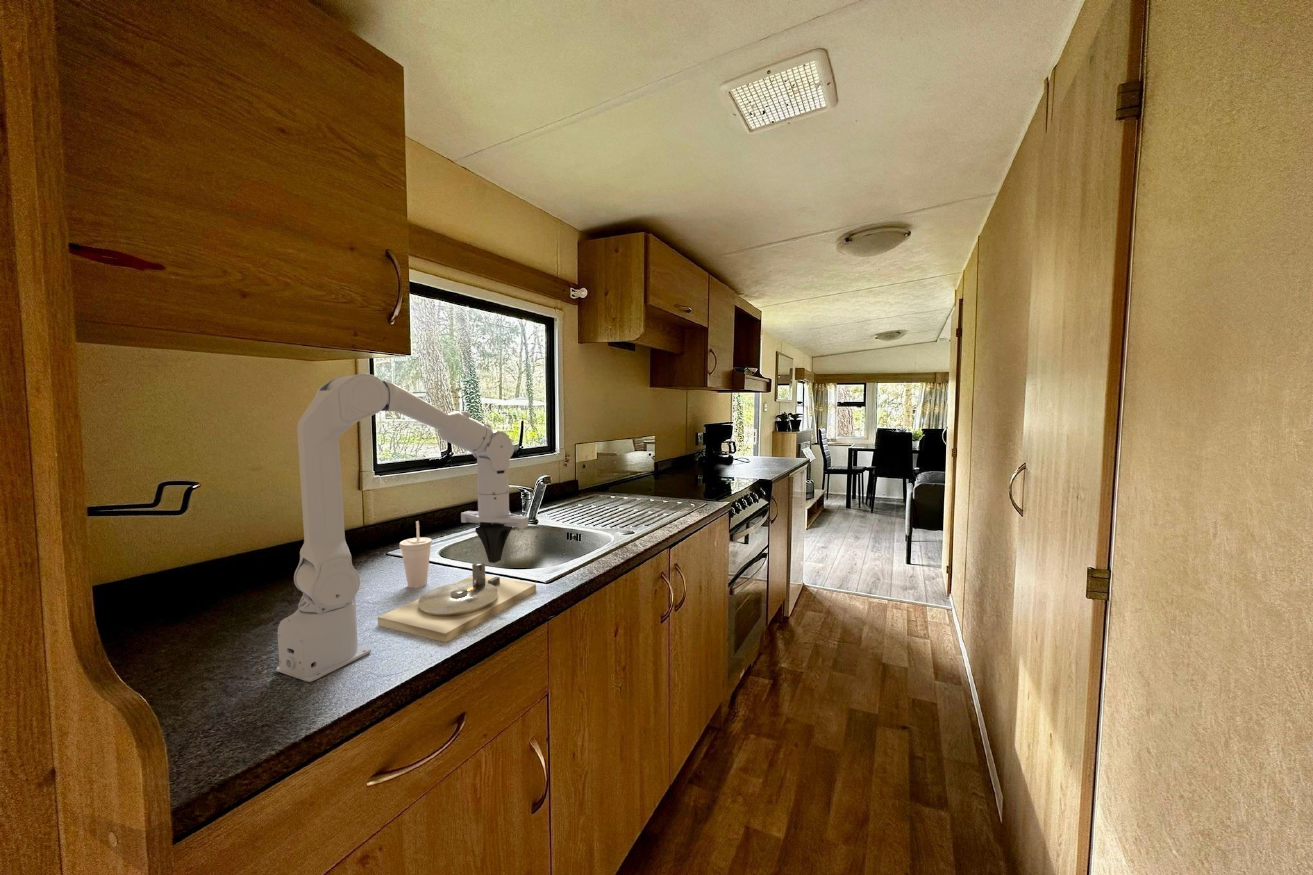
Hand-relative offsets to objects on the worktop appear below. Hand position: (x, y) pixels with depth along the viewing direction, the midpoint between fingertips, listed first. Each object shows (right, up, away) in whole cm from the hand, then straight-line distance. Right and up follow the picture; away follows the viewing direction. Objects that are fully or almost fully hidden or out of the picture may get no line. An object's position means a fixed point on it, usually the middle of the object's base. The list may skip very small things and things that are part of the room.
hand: (494, 561), depth 96 cm
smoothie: (-20, -8, +10) cm, 24 cm away
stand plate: (-6, -9, -2) cm, 11 cm away
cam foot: (-6, -7, -2) cm, 9 cm away
